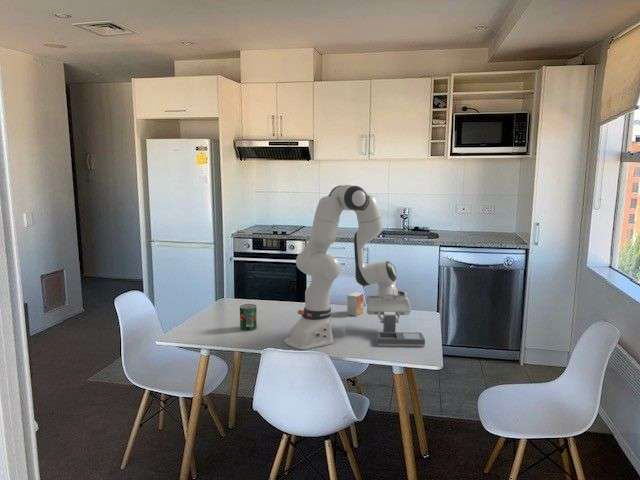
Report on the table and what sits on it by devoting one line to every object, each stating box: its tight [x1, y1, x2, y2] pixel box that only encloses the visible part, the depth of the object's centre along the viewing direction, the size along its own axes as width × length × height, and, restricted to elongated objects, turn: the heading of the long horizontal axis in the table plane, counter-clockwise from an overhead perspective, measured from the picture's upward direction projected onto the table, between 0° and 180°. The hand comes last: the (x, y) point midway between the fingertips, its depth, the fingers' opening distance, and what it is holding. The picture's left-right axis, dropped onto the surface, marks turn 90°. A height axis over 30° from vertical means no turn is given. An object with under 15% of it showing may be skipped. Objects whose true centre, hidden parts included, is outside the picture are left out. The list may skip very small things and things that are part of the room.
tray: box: [376, 329, 400, 332], centre depth 223 cm, size 10×10×1 cm
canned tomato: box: [239, 303, 258, 332], centre depth 231 cm, size 8×8×11 cm
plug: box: [382, 312, 397, 332], centre depth 222 cm, size 5×5×10 cm
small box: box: [346, 291, 364, 317], centre depth 255 cm, size 8×6×10 cm
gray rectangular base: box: [375, 331, 426, 347], centre depth 212 cm, size 20×9×4 cm, turn 88°
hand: (389, 322), depth 222 cm, fingers open, 5 cm apart
